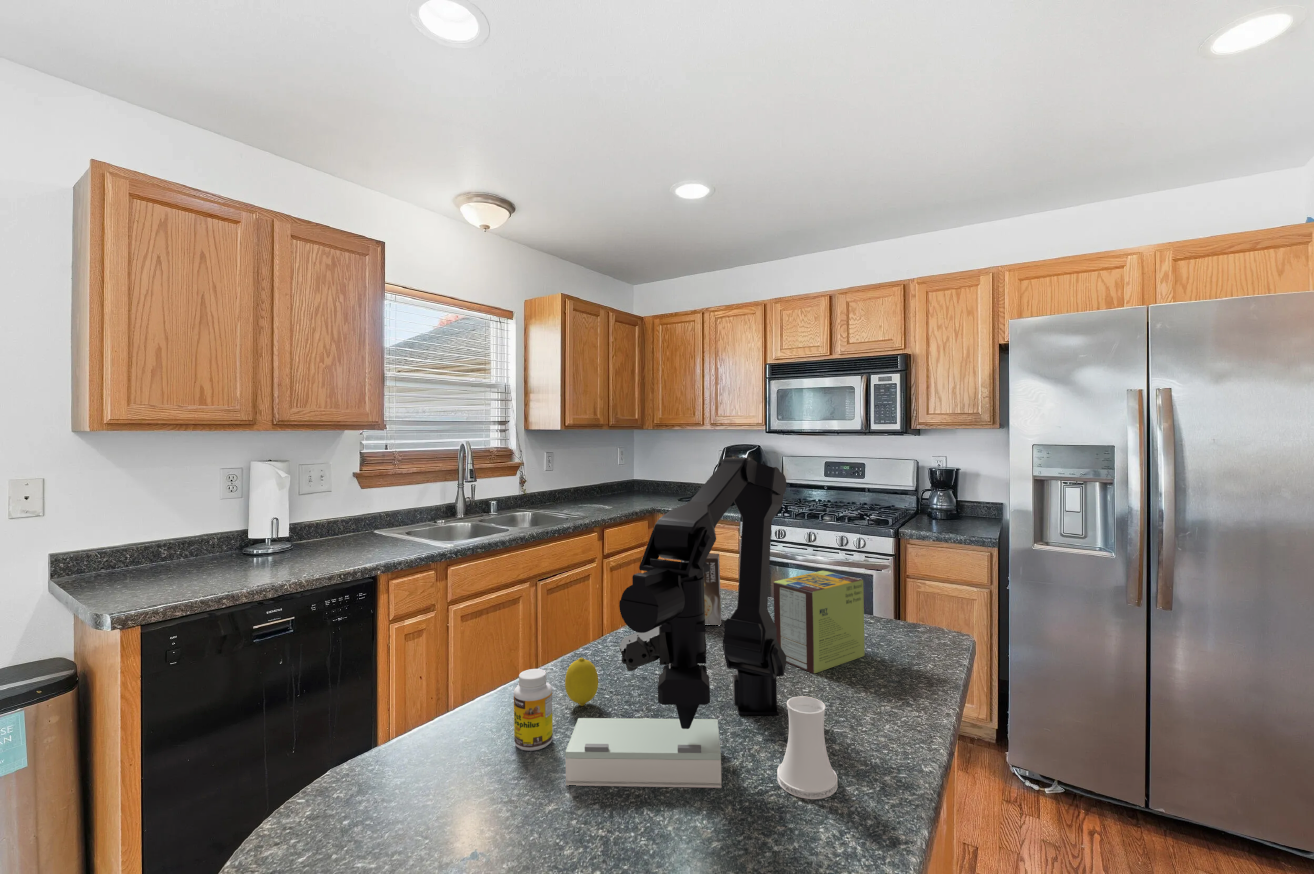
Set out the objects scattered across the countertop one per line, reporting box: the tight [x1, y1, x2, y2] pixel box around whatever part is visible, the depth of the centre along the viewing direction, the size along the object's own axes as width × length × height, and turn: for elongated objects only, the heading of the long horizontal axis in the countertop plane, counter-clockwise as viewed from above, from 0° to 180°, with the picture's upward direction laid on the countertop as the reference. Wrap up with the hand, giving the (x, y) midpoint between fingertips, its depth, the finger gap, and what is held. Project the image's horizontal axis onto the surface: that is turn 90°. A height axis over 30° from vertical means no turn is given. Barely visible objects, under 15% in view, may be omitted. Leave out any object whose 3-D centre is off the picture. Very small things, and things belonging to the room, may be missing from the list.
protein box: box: [772, 570, 866, 675], centre depth 118 cm, size 10×15×16 cm
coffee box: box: [680, 552, 722, 625], centre depth 142 cm, size 9×6×16 cm
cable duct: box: [565, 758, 722, 789], centre depth 80 cm, size 20×9×4 cm, turn 87°
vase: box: [776, 695, 838, 800], centre depth 76 cm, size 8×8×10 cm
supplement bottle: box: [513, 668, 554, 752], centre depth 87 cm, size 6×6×10 cm
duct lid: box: [564, 717, 722, 761], centre depth 80 cm, size 20×9×1 cm, turn 87°
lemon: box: [564, 657, 599, 707], centre depth 99 cm, size 6×6×8 cm
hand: (685, 727), depth 79 cm, fingers closed
